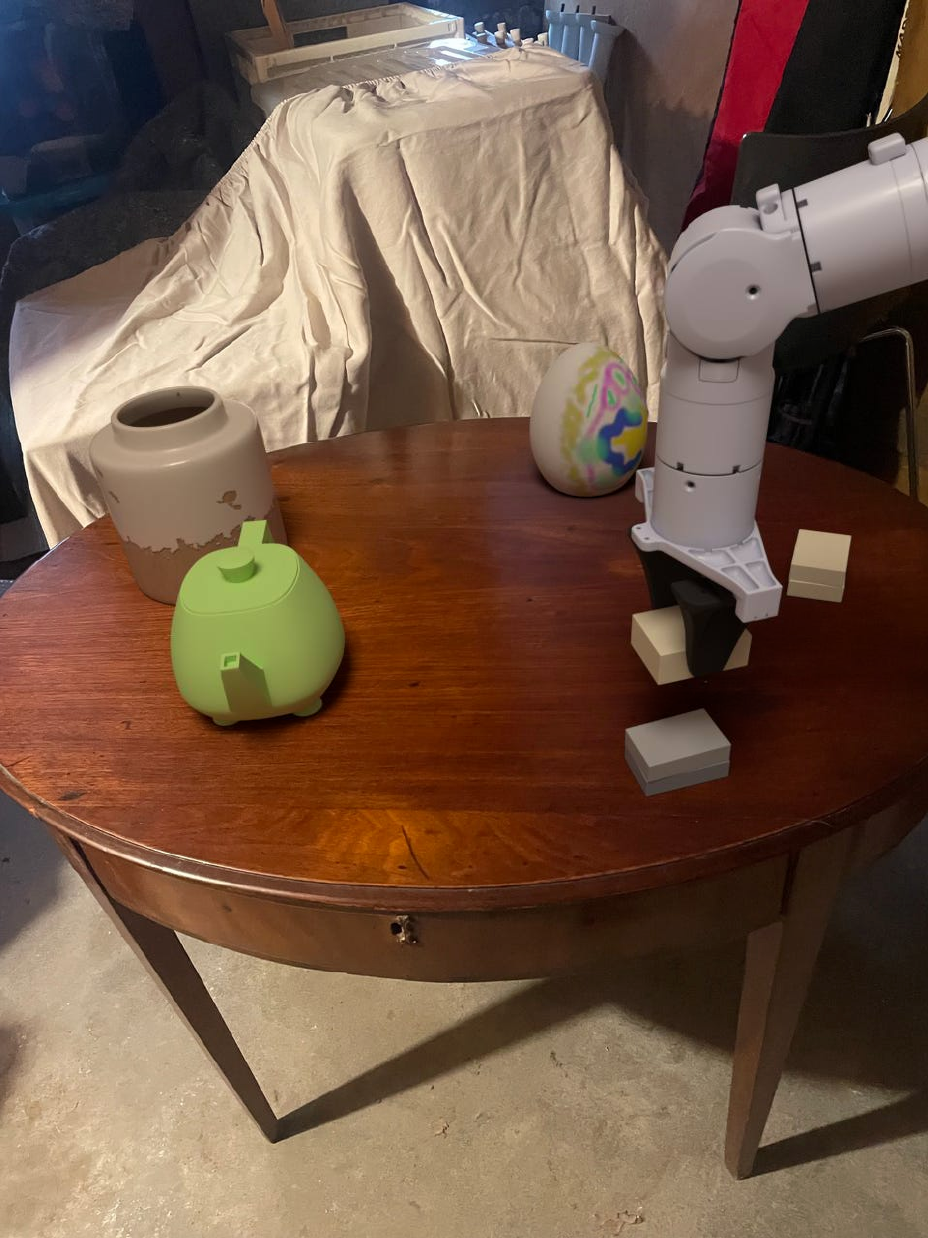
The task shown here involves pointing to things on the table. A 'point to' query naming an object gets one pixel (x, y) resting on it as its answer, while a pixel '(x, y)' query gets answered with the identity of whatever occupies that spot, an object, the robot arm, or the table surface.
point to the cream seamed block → (819, 566)
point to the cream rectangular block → (673, 645)
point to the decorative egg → (588, 422)
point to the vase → (182, 481)
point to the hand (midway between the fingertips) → (688, 646)
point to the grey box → (677, 752)
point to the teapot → (254, 632)
